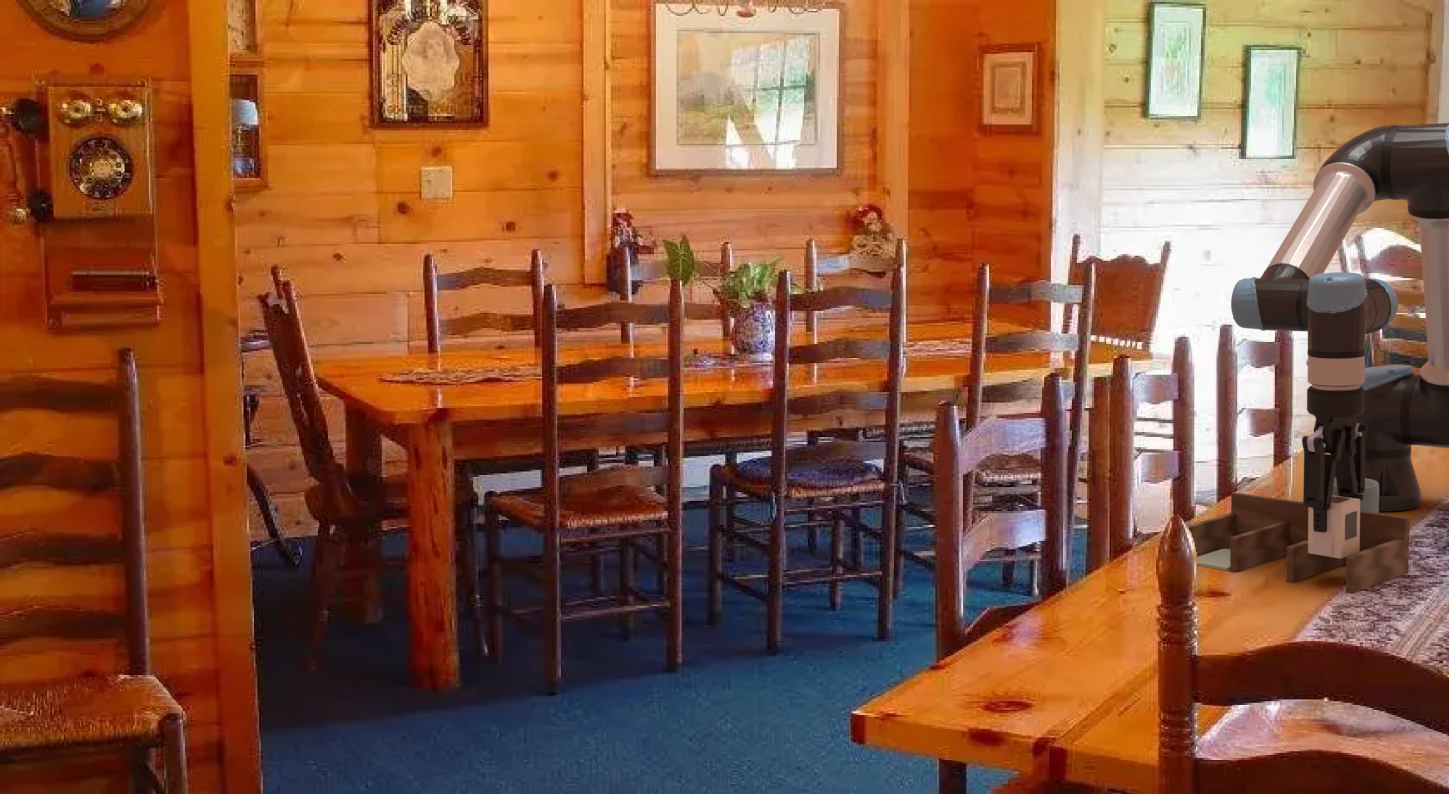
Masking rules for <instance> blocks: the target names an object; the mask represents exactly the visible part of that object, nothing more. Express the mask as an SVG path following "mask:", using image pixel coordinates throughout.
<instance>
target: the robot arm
mask: <svg viewBox="0 0 1449 794" xmlns="http://www.w3.org/2000/svg"><path fill="white" fill-rule="evenodd" d="M1312 184H1313V185H1312V186H1313V192H1312V194H1311V196H1310V197H1309V198H1308V200H1307V201H1306V203H1305V205H1304V206H1303V208H1302V210H1301V212H1300V213H1299V215H1298V216H1297V218H1296V219H1295V222H1293V224H1292V227H1290V230H1289V231H1288V233H1287V234H1286V236H1285V238H1284V239H1283V241H1282V243H1281V244H1280V246H1279V247H1278V249H1277V250H1276V252H1275V254H1274V255H1273V257H1272V258H1271V260H1270V262H1269V264H1268V266H1267V267H1266V268H1265V270H1263V273H1262V275H1261V277H1256V276H1252V277H1251V278H1250V277H1249V278H1248V277H1247V278H1242V279H1239V280H1238V281H1237V282H1236V283H1235V285H1234V286H1233V290H1232V292H1231V300H1230V310H1231V315H1232V319H1233V321H1234V322H1235V324H1236V325H1237V326H1238V327H1240V328H1242V329H1250V330H1251V329H1252V330H1260V331H1262V332H1265V331H1274V332H1275V331H1276V332H1278V331H1279V332H1280V331H1282V332H1288V331H1289V332H1307V359H1306V363H1305V364H1306V366H1307V382H1308V383H1309V385H1310V386H1309V387H1308V388H1307V389H1306V411H1307V413H1308V414H1310V415H1312V416H1313V417H1315V422H1314V426H1313V433H1312V434H1311V435H1310V436H1309V435H1304V436H1302V438H1301V444H1302V449H1303V454H1304V455H1303V494H1302V495H1303V499H1302V500H1303V501H1302V502H1303V503H1304V505H1305V506H1306V507H1310V508H1313V553H1317V554H1323V555H1329V556H1332V555H1334V509H1330V506H1331V499H1332V492H1333V485H1334V478H1336V481H1337V489H1338V496H1342V497H1349V498H1356V499H1360V501H1362V500H1363V495H1360V494H1359V493H1364V491H1365V478H1367V479H1372V480H1375V481H1377V482H1378V483H1379V512H1398V511H1399V512H1400V511H1407V510H1414V509H1418V508H1419V507H1421V505H1422V491H1421V488H1420V484H1419V480H1418V477H1417V474H1416V471H1415V468H1414V465H1413V461H1412V446H1420V447H1432V448H1444V449H1449V122H1444V123H1442V122H1440V123H1425V124H1423V123H1422V124H1406V125H1405V124H1401V125H1397V124H1391V125H1381V126H1377V127H1373V128H1371V129H1369V130H1366V131H1363V132H1362V133H1359V134H1358V135H1356V136H1354V137H1352V138H1351V139H1350V140H1348V141H1347V142H1345V143H1344V144H1342V145H1341V146H1340V147H1339V148H1337V149H1336V150H1334V151H1333V153H1332V154H1330V155H1329V157H1328V158H1327V159H1325V161H1324V162H1323V164H1321V167H1320V168H1319V170H1317V172H1316V175H1315V176H1314V179H1313V183H1312ZM1382 200H1393V201H1397V200H1398V201H1399V200H1403V201H1406V202H1407V214H1408V215H1409V216H1410V217H1411V218H1413V219H1414V220H1415V221H1416V222H1418V224H1419V225H1418V226H1419V238H1420V239H1419V240H1420V250H1421V266H1422V267H1421V269H1422V279H1423V280H1422V282H1423V285H1422V286H1423V297H1424V298H1423V299H1424V313H1425V325H1426V326H1425V328H1426V329H1425V330H1426V340H1427V341H1426V342H1427V357H1428V360H1427V361H1426V363H1424V364H1423V365H1422V366H1421V367H1420V369H1419V374H1415V369H1414V367H1413V366H1412V365H1410V364H1391V365H1390V364H1389V365H1379V366H1370V367H1369V366H1368V367H1366V335H1369V334H1374V333H1375V332H1379V331H1380V330H1382V329H1383V328H1385V327H1386V326H1388V325H1389V324H1390V323H1391V322H1392V321H1393V320H1394V319H1395V317H1396V315H1397V313H1398V308H1399V299H1398V296H1397V293H1396V292H1395V290H1394V288H1393V287H1392V286H1391V285H1390V284H1389V283H1388V282H1386V281H1384V280H1382V279H1378V278H1373V277H1372V278H1365V277H1364V276H1363V275H1362V274H1360V273H1358V272H1357V273H1356V272H1342V271H1341V272H1325V271H1326V270H1327V268H1328V266H1329V265H1330V263H1331V261H1332V260H1333V258H1334V256H1335V255H1336V253H1337V251H1338V249H1339V248H1340V246H1341V244H1342V242H1343V240H1344V239H1345V238H1346V236H1347V235H1348V232H1349V231H1350V229H1351V227H1352V225H1353V223H1354V222H1355V221H1356V219H1357V217H1358V216H1359V215H1360V214H1362V213H1364V212H1366V211H1367V210H1369V208H1370V207H1371V206H1372V205H1373V203H1374V202H1377V201H1382ZM1357 483H1358V484H1357Z"/></svg>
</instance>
